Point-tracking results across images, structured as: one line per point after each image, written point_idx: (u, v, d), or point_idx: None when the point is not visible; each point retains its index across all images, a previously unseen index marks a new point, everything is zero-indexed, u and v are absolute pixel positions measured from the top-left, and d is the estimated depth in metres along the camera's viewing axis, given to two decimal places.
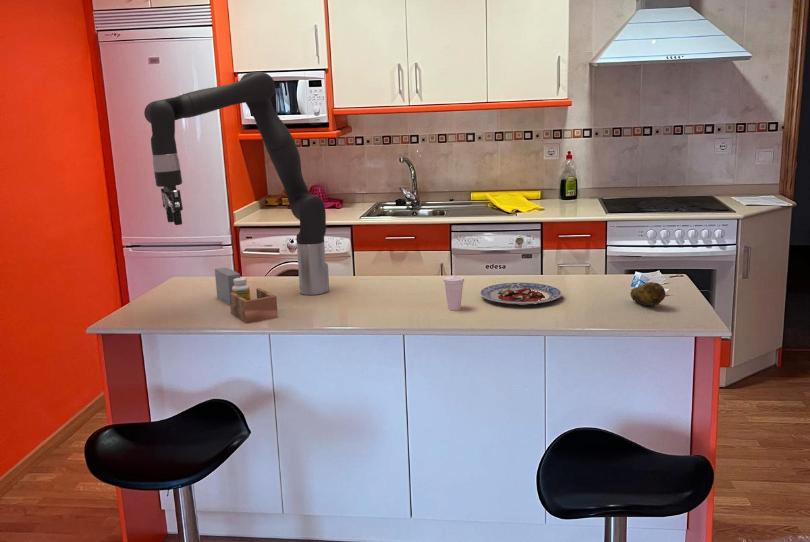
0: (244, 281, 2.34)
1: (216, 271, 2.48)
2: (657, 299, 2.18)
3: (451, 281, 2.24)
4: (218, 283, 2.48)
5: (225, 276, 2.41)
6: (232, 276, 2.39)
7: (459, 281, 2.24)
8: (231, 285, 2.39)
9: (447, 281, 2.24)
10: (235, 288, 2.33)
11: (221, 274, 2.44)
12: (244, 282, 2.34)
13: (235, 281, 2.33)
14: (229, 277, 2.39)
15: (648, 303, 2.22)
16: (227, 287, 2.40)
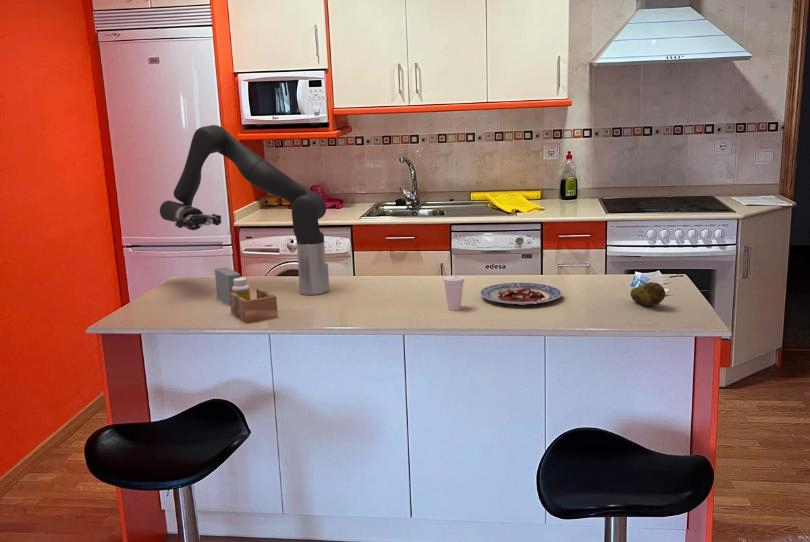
0: (244, 281, 2.34)
1: (216, 271, 2.48)
2: (657, 299, 2.18)
3: (451, 281, 2.24)
4: (218, 283, 2.48)
5: (225, 276, 2.41)
6: (232, 276, 2.39)
7: (459, 281, 2.24)
8: (231, 285, 2.39)
9: (447, 281, 2.24)
10: (235, 288, 2.33)
11: (221, 274, 2.44)
12: (244, 282, 2.34)
13: (235, 281, 2.33)
14: (229, 277, 2.39)
15: (648, 303, 2.22)
16: (227, 287, 2.40)
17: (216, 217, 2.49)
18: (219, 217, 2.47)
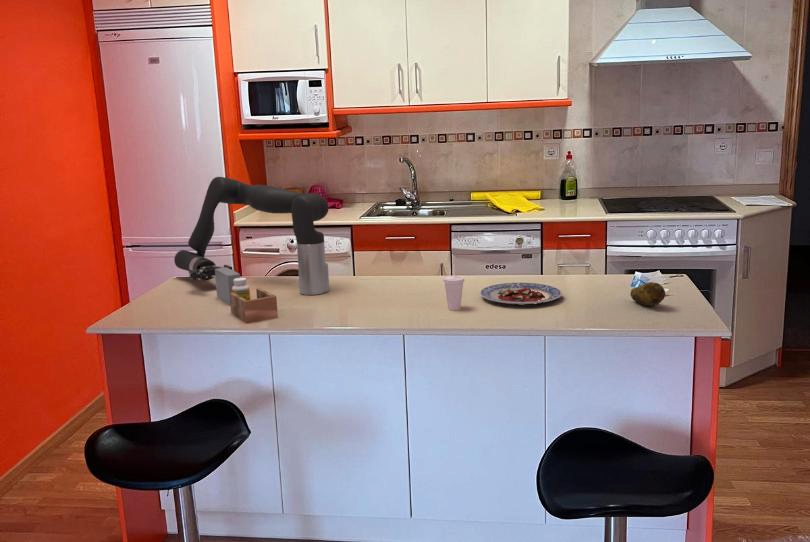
0: (244, 281, 2.34)
1: (216, 271, 2.48)
2: (657, 299, 2.18)
3: (451, 281, 2.24)
4: (218, 283, 2.48)
5: (225, 276, 2.41)
6: (232, 276, 2.39)
7: (459, 281, 2.24)
8: (231, 285, 2.39)
9: (447, 281, 2.24)
10: (235, 288, 2.33)
11: (221, 274, 2.44)
12: (244, 282, 2.34)
13: (235, 281, 2.33)
14: (229, 277, 2.39)
15: (648, 303, 2.22)
16: (227, 288, 2.40)
17: None
18: (230, 268, 2.61)
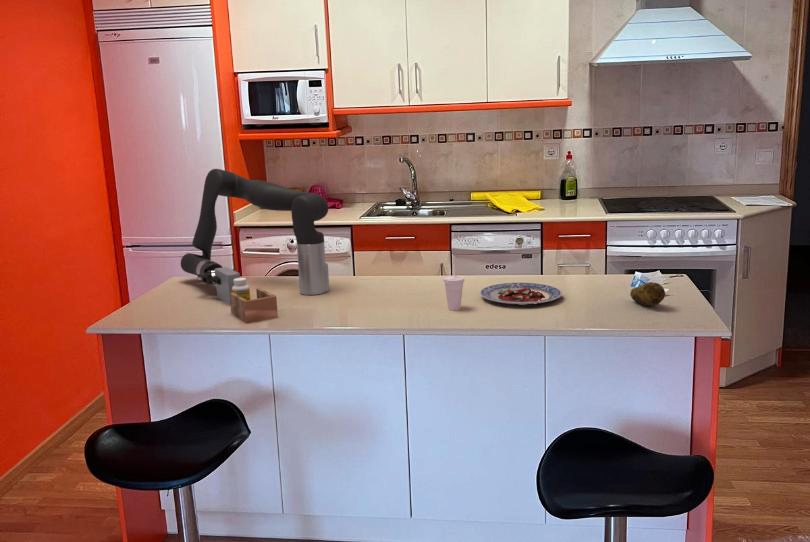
0: (244, 281, 2.34)
1: (216, 271, 2.48)
2: (657, 299, 2.18)
3: (451, 281, 2.24)
4: None
5: (225, 276, 2.41)
6: (232, 276, 2.39)
7: (459, 281, 2.24)
8: (231, 285, 2.39)
9: (447, 281, 2.24)
10: (235, 288, 2.33)
11: (221, 274, 2.44)
12: (244, 282, 2.34)
13: (235, 281, 2.33)
14: (229, 277, 2.39)
15: (648, 303, 2.22)
16: (227, 287, 2.40)
17: None
18: None
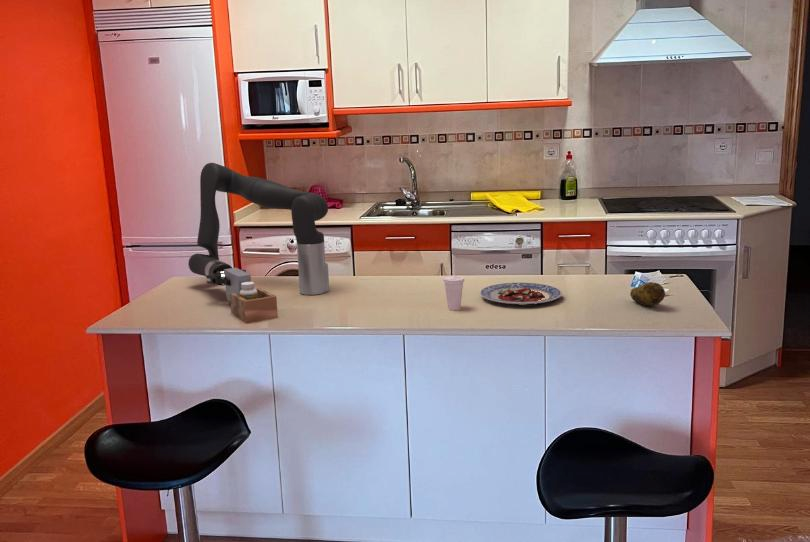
0: (252, 285, 2.28)
1: (225, 272, 2.39)
2: (657, 299, 2.18)
3: (451, 281, 2.24)
4: None
5: (235, 277, 2.32)
6: (242, 277, 2.30)
7: (459, 281, 2.24)
8: None
9: (447, 281, 2.24)
10: (243, 292, 2.27)
11: (231, 275, 2.35)
12: (252, 286, 2.28)
13: (243, 285, 2.27)
14: (239, 278, 2.30)
15: (648, 303, 2.22)
16: (237, 289, 2.31)
17: None
18: None
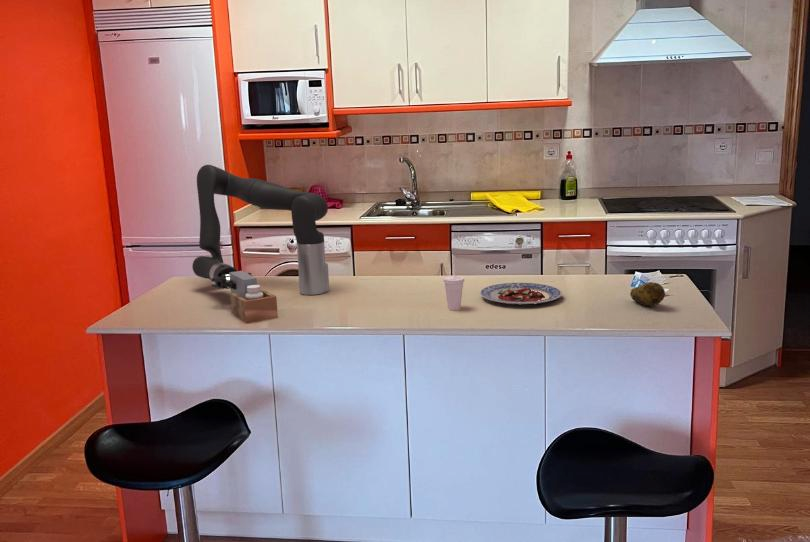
0: (258, 288, 2.24)
1: (231, 275, 2.35)
2: (657, 299, 2.18)
3: (451, 281, 2.24)
4: None
5: (241, 281, 2.28)
6: (248, 280, 2.26)
7: (459, 281, 2.24)
8: None
9: (447, 281, 2.24)
10: (248, 296, 2.23)
11: (236, 278, 2.31)
12: (258, 289, 2.24)
13: (248, 288, 2.23)
14: (245, 281, 2.26)
15: (648, 303, 2.22)
16: (243, 292, 2.27)
17: None
18: None
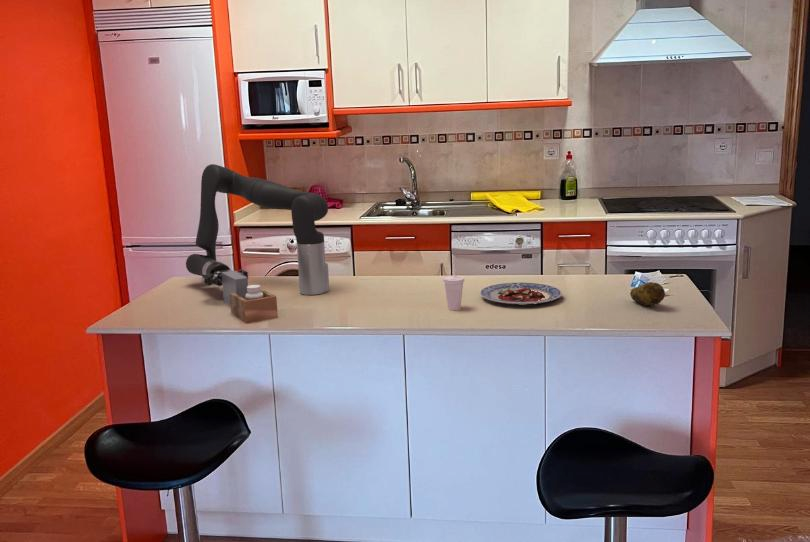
0: (258, 288, 2.24)
1: (223, 275, 2.42)
2: (657, 299, 2.18)
3: (451, 281, 2.24)
4: (225, 287, 2.42)
5: (232, 280, 2.35)
6: (239, 280, 2.33)
7: (459, 281, 2.24)
8: (238, 289, 2.34)
9: (447, 281, 2.24)
10: (248, 296, 2.23)
11: (228, 278, 2.38)
12: (258, 289, 2.24)
13: (248, 288, 2.23)
14: (236, 281, 2.33)
15: (648, 303, 2.22)
16: (235, 292, 2.35)
17: (243, 273, 2.50)
18: (246, 273, 2.48)
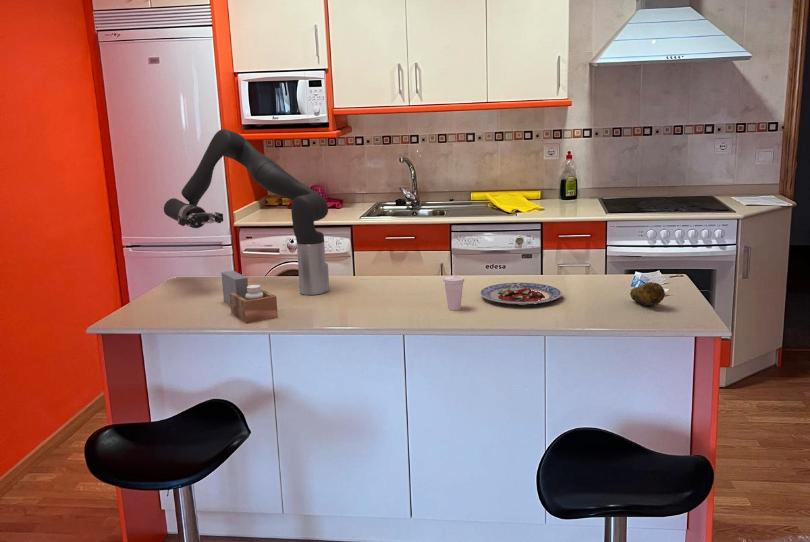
0: (258, 288, 2.24)
1: (223, 275, 2.42)
2: (657, 299, 2.18)
3: (451, 281, 2.24)
4: (224, 287, 2.42)
5: (232, 280, 2.35)
6: (239, 280, 2.33)
7: (459, 281, 2.24)
8: (238, 289, 2.34)
9: (447, 281, 2.24)
10: (248, 296, 2.23)
11: (228, 278, 2.38)
12: (258, 289, 2.24)
13: (248, 288, 2.23)
14: (236, 281, 2.33)
15: (647, 303, 2.22)
16: (234, 292, 2.34)
17: (218, 215, 2.54)
18: (221, 215, 2.52)
